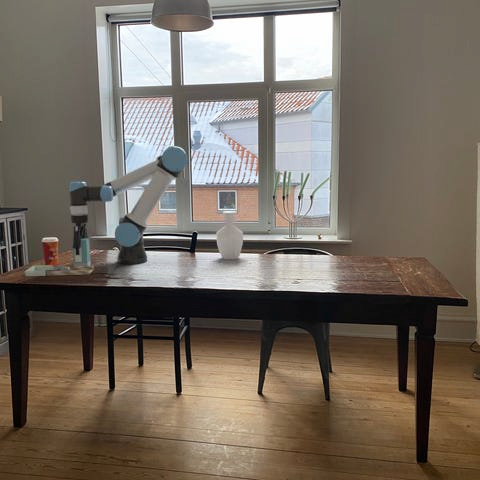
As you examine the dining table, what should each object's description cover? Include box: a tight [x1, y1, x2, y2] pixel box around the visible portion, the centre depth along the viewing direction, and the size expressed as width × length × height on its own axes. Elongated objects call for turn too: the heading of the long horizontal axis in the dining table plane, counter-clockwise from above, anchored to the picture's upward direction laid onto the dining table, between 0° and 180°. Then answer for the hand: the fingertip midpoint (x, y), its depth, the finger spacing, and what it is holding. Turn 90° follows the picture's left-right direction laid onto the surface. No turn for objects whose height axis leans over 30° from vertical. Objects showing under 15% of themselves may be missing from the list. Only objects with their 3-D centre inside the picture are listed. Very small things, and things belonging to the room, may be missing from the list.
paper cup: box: [41, 237, 59, 267], centre depth 220 cm, size 8×8×14 cm
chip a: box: [60, 267, 70, 271], centre depth 202 cm, size 4×4×2 cm
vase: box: [215, 210, 244, 260], centre depth 240 cm, size 14×14×25 cm
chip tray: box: [24, 264, 54, 277], centre depth 203 cm, size 8×12×3 cm
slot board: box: [46, 265, 95, 276], centre depth 205 cm, size 18×11×2 cm, turn 96°
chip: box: [53, 264, 64, 271], centre depth 206 cm, size 4×4×2 cm
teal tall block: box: [71, 238, 92, 266], centre depth 216 cm, size 6×6×14 cm
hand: (81, 259), depth 217 cm, fingers open, 12 cm apart
